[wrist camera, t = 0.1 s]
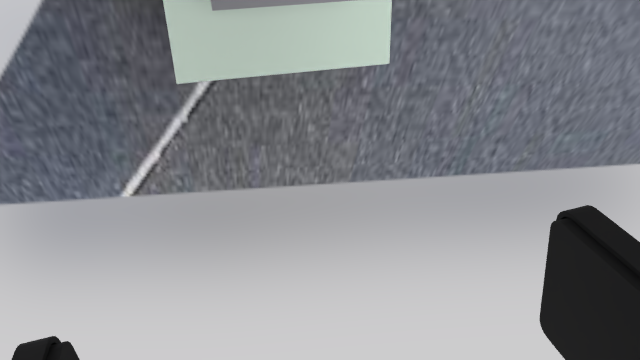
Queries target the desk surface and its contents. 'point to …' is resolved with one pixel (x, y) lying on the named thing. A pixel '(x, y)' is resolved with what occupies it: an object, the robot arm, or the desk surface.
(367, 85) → the desk surface
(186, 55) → the lid
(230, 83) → the desk surface
